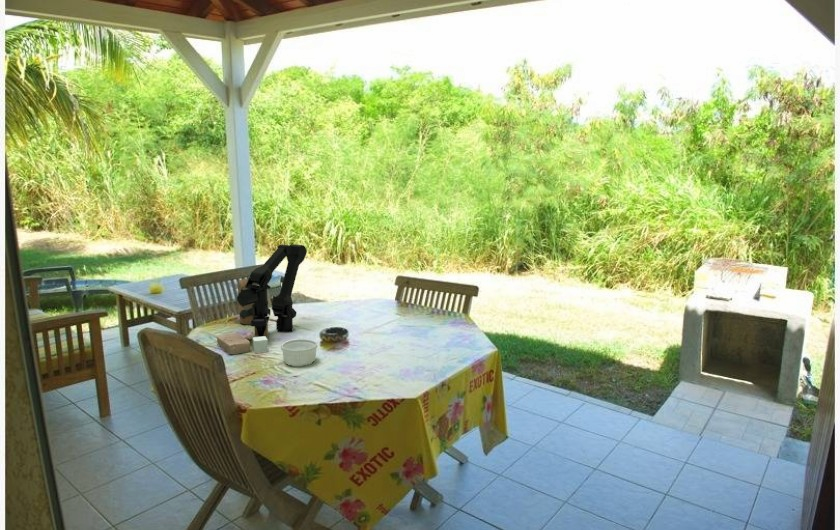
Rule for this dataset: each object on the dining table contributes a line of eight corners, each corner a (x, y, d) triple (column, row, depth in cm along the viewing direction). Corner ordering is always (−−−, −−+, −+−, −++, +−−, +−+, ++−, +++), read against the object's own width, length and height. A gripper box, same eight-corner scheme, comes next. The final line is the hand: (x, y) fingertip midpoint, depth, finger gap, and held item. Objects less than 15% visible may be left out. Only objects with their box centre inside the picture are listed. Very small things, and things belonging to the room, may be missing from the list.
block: (257, 324, 258) (256, 281, 254) (240, 325, 254) (239, 283, 251) (254, 317, 267) (253, 277, 263) (238, 319, 264) (236, 278, 260)
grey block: (265, 347, 227) (265, 336, 226) (267, 351, 223) (267, 339, 222) (253, 349, 225) (252, 337, 224) (254, 353, 221) (254, 341, 220)
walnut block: (268, 337, 240) (267, 323, 239) (267, 340, 235) (266, 327, 234) (256, 337, 239) (255, 323, 238) (254, 341, 234) (254, 327, 233)
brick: (216, 344, 230) (215, 333, 229) (236, 341, 235) (236, 330, 234) (230, 356, 217) (229, 345, 216) (251, 352, 222) (250, 341, 221)
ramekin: (286, 370, 204) (286, 352, 203) (278, 358, 216) (277, 341, 214) (321, 364, 210) (321, 347, 209) (311, 353, 222) (311, 336, 220)
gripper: (243, 295, 242) (244, 330, 245) (236, 307, 224) (238, 344, 227) (270, 295, 243) (271, 329, 246) (265, 306, 225) (266, 343, 228)
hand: (261, 336), depth 237 cm, fingers closed on walnut block, 5 cm apart
